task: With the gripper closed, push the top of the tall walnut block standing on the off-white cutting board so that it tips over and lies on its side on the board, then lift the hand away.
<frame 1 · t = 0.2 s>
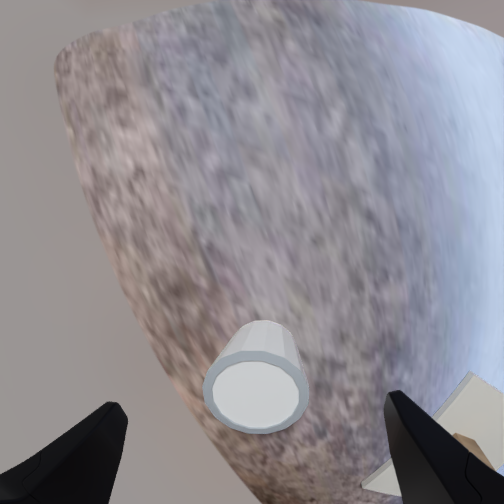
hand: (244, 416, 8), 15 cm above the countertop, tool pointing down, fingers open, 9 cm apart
cutting board: (466, 452, 23), on the countertop
white tapered cup: (263, 349, 24), on the countertop
walnut block: (450, 451, 22), point 1 cm above the countertop, touching cutting board
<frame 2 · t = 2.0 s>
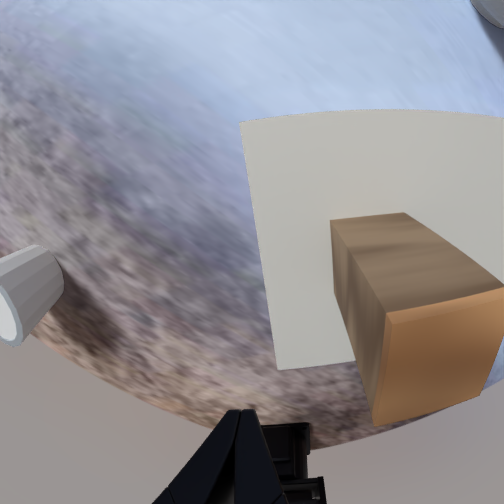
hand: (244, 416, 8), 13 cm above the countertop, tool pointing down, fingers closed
cutting board: (428, 240, 19), on the countertop
teacup: (497, 14, 11), on the countertop
white tapered cup: (43, 272, 22), on the countertop
walnut block: (369, 253, 18), point 1 cm above the countertop, touching cutting board
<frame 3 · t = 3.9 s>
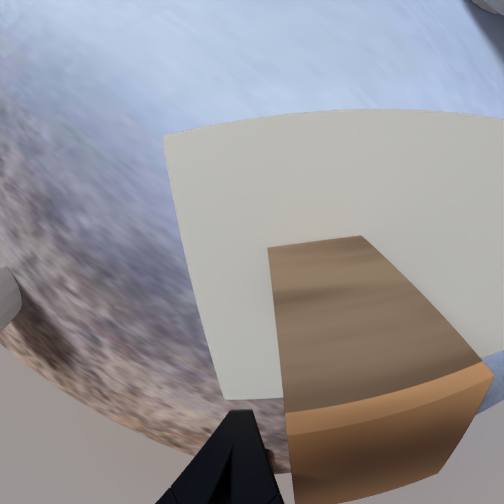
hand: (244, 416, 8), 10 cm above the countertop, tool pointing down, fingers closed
cutting board: (396, 265, 16), on the countertop
white tapered cup: (4, 286, 20), on the countertop
walnut block: (318, 284, 16), point 1 cm above the countertop, touching cutting board, gripper
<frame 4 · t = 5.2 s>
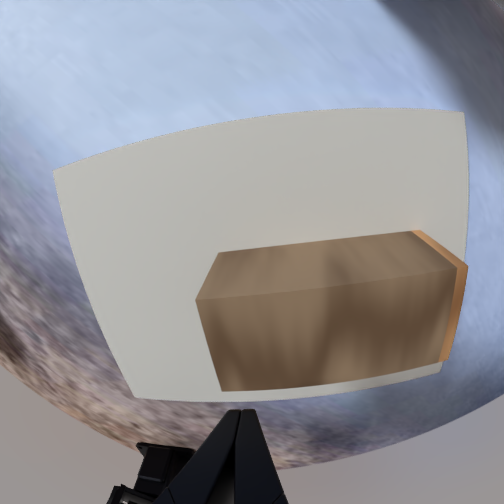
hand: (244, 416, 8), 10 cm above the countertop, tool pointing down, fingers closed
cutting board: (271, 282, 17), on the countertop
walnut block: (219, 319, 14), point 3 cm above the countertop, tilted 90°, touching cutting board
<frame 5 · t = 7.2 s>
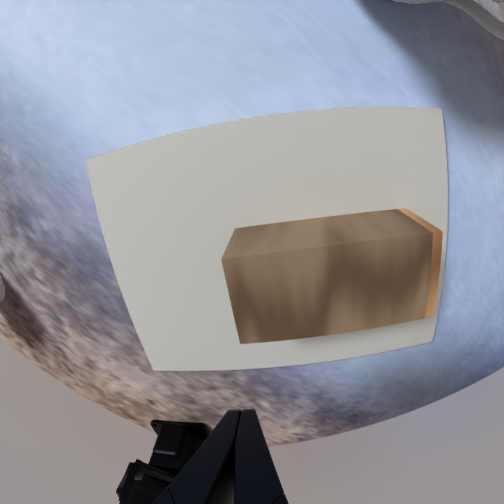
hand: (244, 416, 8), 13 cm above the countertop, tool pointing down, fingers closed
cutting board: (279, 254, 20), on the countertop
walnut block: (237, 282, 17), point 3 cm above the countertop, tilted 90°, touching cutting board
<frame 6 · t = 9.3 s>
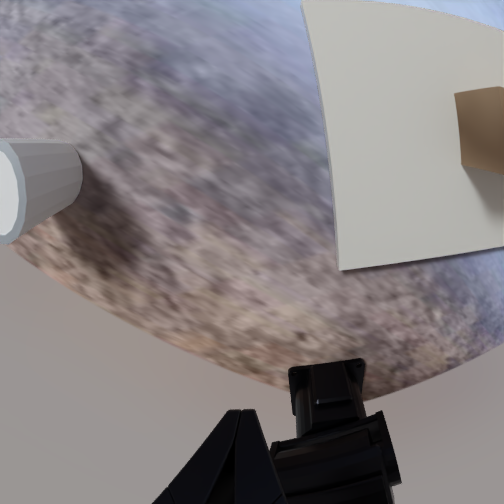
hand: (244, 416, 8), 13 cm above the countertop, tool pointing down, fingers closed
cutting board: (475, 130, 16), on the countertop
white tapered cup: (58, 174, 19), on the countertop
walnut block: (479, 129, 13), point 3 cm above the countertop, tilted 90°, touching cutting board
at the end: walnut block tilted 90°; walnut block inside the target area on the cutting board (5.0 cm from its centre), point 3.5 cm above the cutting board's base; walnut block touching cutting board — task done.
